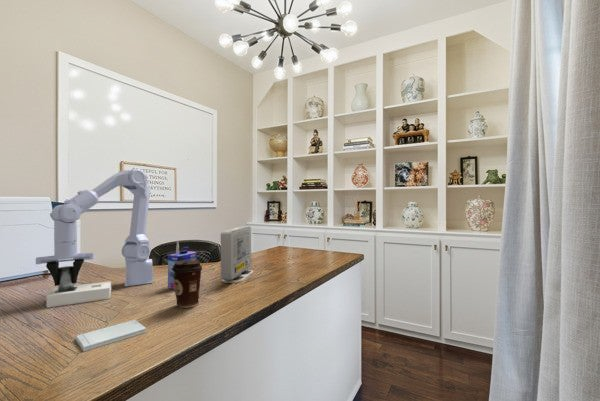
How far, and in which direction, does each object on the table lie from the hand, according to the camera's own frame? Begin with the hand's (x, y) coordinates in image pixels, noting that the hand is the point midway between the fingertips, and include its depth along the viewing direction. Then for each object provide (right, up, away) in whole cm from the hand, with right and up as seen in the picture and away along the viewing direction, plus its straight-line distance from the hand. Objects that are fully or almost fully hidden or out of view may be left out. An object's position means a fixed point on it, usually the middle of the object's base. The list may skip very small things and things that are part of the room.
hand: (66, 283), depth 96 cm
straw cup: (+31, -5, +16) cm, 36 cm away
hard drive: (+31, -6, -26) cm, 41 cm away
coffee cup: (+41, -5, -5) cm, 42 cm away
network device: (+50, -5, +28) cm, 57 cm away
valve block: (+4, -5, +2) cm, 7 cm away
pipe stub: (0, -3, 0) cm, 3 cm away
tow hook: (+17, -6, +52) cm, 55 cm away
